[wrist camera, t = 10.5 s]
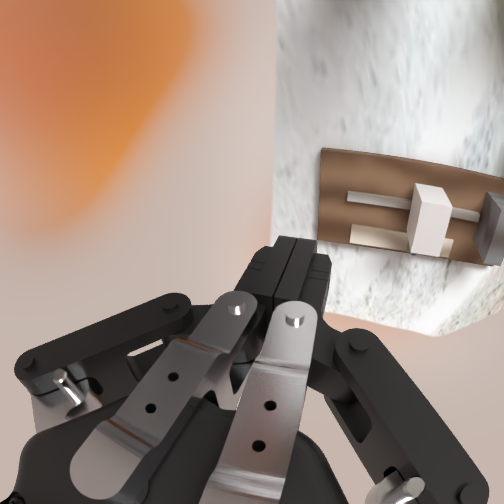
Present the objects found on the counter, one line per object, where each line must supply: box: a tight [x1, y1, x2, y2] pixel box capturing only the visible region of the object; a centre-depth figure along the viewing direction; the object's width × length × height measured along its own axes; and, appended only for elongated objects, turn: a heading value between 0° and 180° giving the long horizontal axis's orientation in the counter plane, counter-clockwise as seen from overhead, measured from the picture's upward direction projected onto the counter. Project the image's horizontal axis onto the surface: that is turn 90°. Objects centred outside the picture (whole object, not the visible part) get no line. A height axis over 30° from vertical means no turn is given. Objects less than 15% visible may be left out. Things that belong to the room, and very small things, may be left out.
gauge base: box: [317, 148, 504, 266], centre depth 37 cm, size 14×30×8 cm, turn 93°
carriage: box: [407, 183, 453, 257], centre depth 36 cm, size 11×4×6 cm, turn 3°
